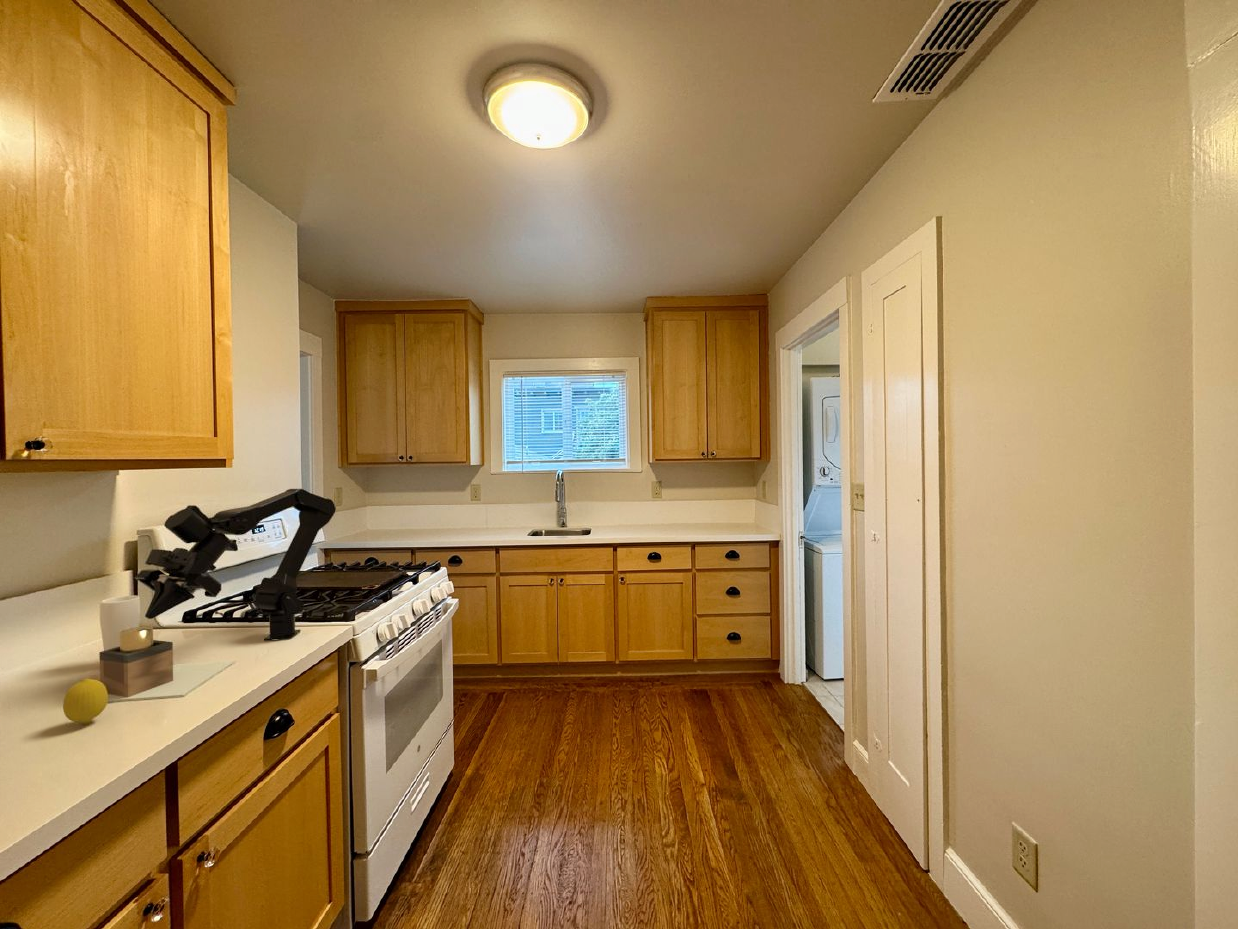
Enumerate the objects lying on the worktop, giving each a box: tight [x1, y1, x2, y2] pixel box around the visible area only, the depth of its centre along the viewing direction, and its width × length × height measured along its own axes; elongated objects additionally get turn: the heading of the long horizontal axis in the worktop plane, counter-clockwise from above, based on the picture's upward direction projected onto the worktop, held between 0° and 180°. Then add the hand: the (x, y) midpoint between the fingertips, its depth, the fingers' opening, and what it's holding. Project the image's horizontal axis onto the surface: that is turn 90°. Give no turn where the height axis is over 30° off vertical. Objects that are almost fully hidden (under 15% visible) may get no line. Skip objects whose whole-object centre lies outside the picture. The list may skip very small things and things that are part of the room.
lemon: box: [62, 678, 108, 725], centre depth 93 cm, size 6×6×8 cm
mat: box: [107, 660, 236, 703], centre depth 111 cm, size 18×18×1 cm
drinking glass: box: [99, 594, 141, 651], centre depth 121 cm, size 7×7×15 cm
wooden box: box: [98, 639, 174, 697], centre depth 107 cm, size 8×8×8 cm
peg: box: [120, 625, 154, 653], centre depth 107 cm, size 5×5×8 cm
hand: (147, 617), depth 109 cm, fingers closed
